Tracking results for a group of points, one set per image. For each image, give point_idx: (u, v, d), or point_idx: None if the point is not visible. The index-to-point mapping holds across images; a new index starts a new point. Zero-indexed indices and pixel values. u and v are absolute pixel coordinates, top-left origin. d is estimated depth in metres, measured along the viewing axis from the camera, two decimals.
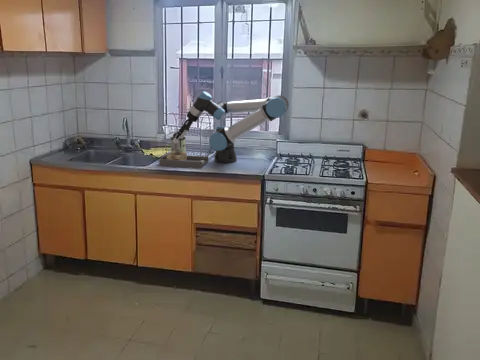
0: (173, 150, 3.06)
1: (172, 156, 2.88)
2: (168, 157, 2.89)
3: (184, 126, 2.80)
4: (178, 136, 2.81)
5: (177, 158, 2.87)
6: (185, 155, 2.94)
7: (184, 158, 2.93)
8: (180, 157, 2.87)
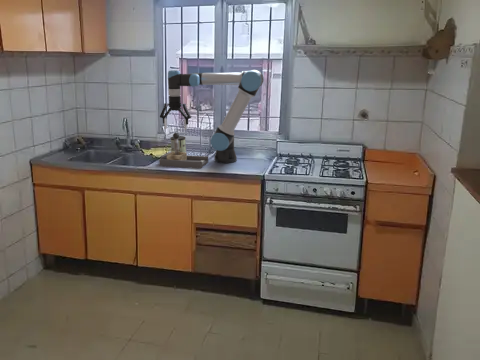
0: (173, 150, 3.06)
1: (172, 156, 2.88)
2: (168, 157, 2.89)
3: (186, 109, 2.83)
4: None
5: (177, 158, 2.87)
6: (185, 155, 2.94)
7: (184, 158, 2.93)
8: (180, 157, 2.87)
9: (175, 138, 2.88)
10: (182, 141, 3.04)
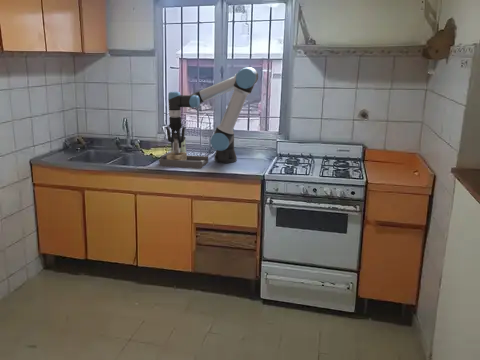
0: None
1: (172, 156, 2.88)
2: (168, 157, 2.89)
3: (184, 132, 2.87)
4: None
5: (177, 158, 2.87)
6: (185, 155, 2.94)
7: (184, 158, 2.93)
8: (180, 157, 2.87)
9: (175, 138, 2.88)
10: None
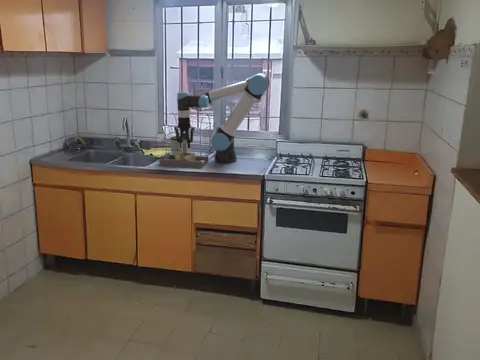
0: (173, 150, 3.06)
1: (181, 156, 2.87)
2: (177, 157, 2.87)
3: (192, 133, 2.86)
4: (189, 144, 2.89)
5: (186, 158, 2.86)
6: (194, 155, 2.93)
7: (193, 158, 2.91)
8: (189, 157, 2.86)
9: (184, 138, 2.87)
10: None
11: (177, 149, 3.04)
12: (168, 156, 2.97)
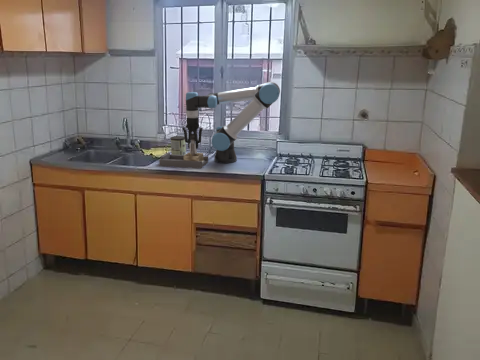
0: (173, 150, 3.06)
1: (189, 157, 2.85)
2: (185, 158, 2.86)
3: (201, 133, 2.85)
4: None
5: (194, 159, 2.85)
6: (202, 156, 2.92)
7: (201, 159, 2.90)
8: (197, 158, 2.85)
9: (192, 139, 2.86)
10: (182, 141, 3.04)
11: (177, 149, 3.04)
12: (168, 156, 2.97)
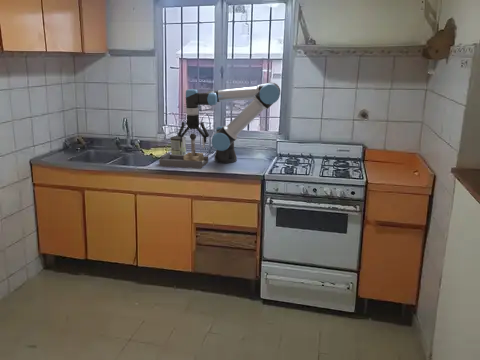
0: (173, 150, 3.06)
1: (189, 157, 2.85)
2: (185, 158, 2.86)
3: (204, 127, 2.83)
4: None
5: (194, 159, 2.85)
6: (202, 156, 2.92)
7: (201, 159, 2.90)
8: (197, 158, 2.85)
9: (192, 139, 2.86)
10: None
11: (177, 149, 3.04)
12: (168, 156, 2.97)
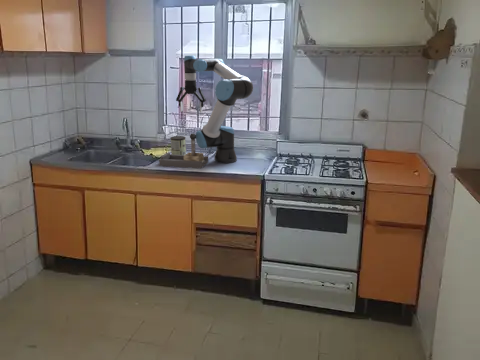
0: (173, 150, 3.06)
1: (189, 157, 2.85)
2: (185, 158, 2.86)
3: (201, 92, 2.97)
4: None
5: (194, 159, 2.85)
6: (202, 156, 2.92)
7: (201, 159, 2.90)
8: (197, 158, 2.85)
9: (192, 139, 2.86)
10: (182, 141, 3.04)
11: (177, 149, 3.04)
12: (168, 156, 2.97)
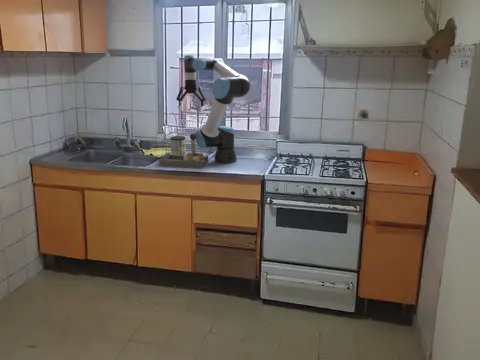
0: (173, 150, 3.06)
1: (189, 157, 2.85)
2: (185, 158, 2.86)
3: (201, 91, 2.99)
4: None
5: (194, 159, 2.85)
6: (202, 156, 2.92)
7: (201, 159, 2.90)
8: (197, 158, 2.85)
9: (192, 139, 2.86)
10: (182, 141, 3.04)
11: (177, 149, 3.04)
12: (168, 156, 2.97)
